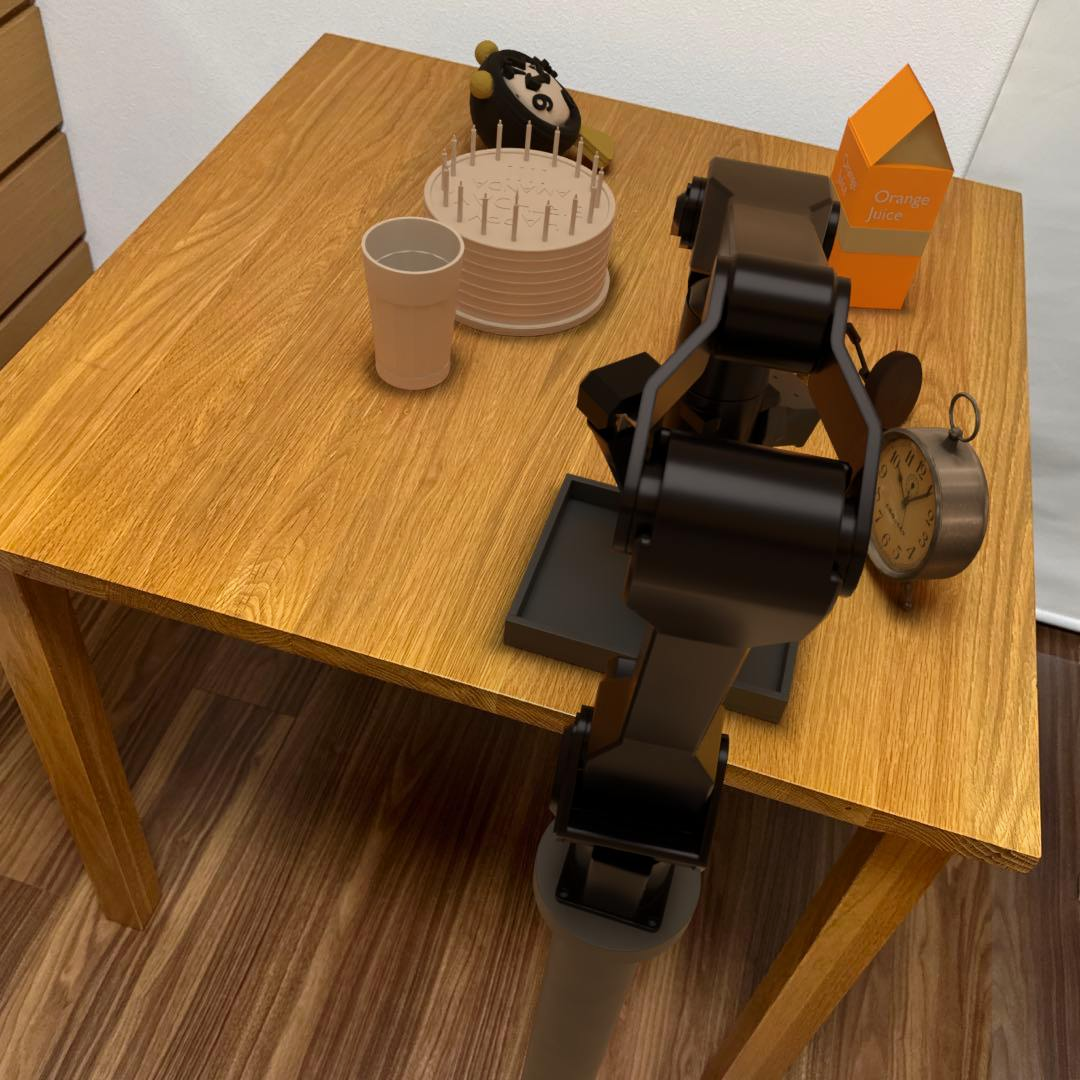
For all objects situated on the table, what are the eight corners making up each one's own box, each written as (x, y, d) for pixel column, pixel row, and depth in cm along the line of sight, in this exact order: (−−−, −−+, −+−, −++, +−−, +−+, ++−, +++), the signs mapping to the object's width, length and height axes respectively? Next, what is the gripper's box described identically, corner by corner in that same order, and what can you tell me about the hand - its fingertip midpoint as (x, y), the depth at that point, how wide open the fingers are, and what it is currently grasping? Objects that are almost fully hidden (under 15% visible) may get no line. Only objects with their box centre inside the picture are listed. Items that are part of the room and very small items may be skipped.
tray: (778, 724, 74) (788, 702, 72) (502, 643, 77) (505, 619, 75) (808, 563, 84) (817, 539, 83) (563, 496, 87) (566, 472, 85)
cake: (611, 236, 113) (629, 109, 103) (605, 346, 100) (626, 214, 91) (432, 216, 112) (434, 87, 103) (404, 323, 100) (404, 188, 90)
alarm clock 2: (836, 514, 88) (903, 348, 76) (900, 509, 89) (975, 345, 77) (890, 623, 81) (973, 459, 69) (958, 616, 82) (1051, 453, 70)
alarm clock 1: (558, 228, 120) (520, 122, 107) (470, 172, 127) (423, 67, 114) (633, 155, 121) (604, 42, 108) (542, 104, 128) (504, -8, 115)
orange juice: (823, 305, 108) (888, 105, 93) (805, 253, 113) (864, 57, 99) (902, 310, 108) (980, 111, 94) (880, 257, 114) (950, 63, 100)
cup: (353, 347, 97) (347, 225, 88) (439, 329, 100) (441, 209, 91) (384, 405, 93) (381, 281, 84) (474, 384, 95) (480, 263, 86)
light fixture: (799, 326, 108) (721, 208, 96) (942, 364, 97) (875, 237, 85) (742, 411, 107) (656, 303, 95) (880, 460, 96) (803, 344, 84)
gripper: (933, 422, 64) (853, 598, 75) (724, 253, 74) (682, 431, 85) (788, 488, 59) (726, 665, 70) (585, 298, 69) (560, 480, 80)
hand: (674, 550), depth 77 cm, fingers open, 9 cm apart
